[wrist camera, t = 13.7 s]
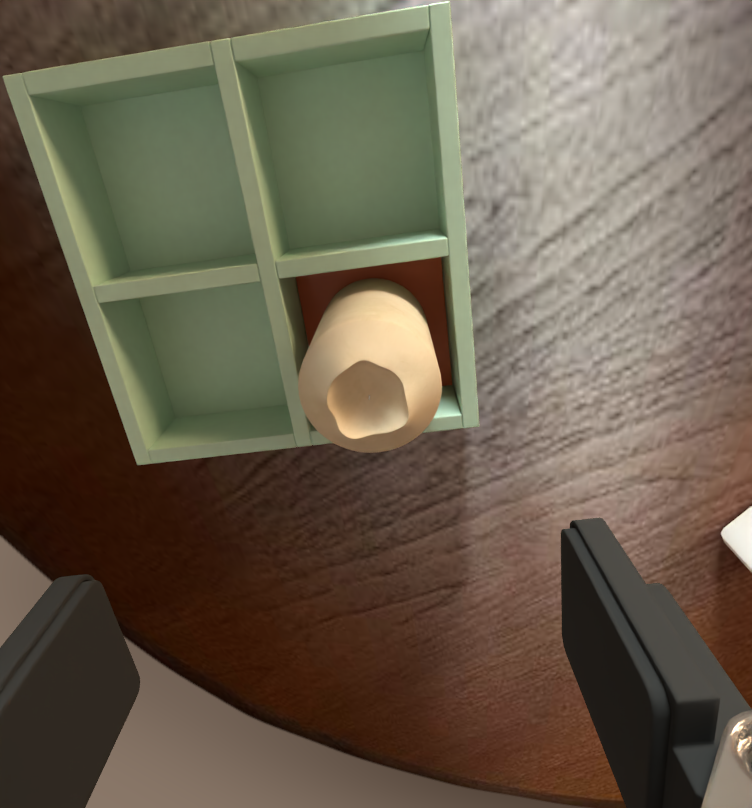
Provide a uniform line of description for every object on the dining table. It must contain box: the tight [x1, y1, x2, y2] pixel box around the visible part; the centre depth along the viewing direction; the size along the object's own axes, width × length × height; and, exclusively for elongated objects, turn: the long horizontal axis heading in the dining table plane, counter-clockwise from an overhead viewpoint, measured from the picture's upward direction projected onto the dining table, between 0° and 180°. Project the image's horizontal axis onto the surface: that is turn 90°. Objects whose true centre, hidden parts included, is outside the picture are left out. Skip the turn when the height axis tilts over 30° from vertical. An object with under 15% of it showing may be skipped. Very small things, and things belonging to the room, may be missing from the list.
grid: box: [3, 1, 479, 465], centre depth 26 cm, size 17×17×5 cm
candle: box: [298, 278, 442, 453], centre depth 24 cm, size 6×6×10 cm
